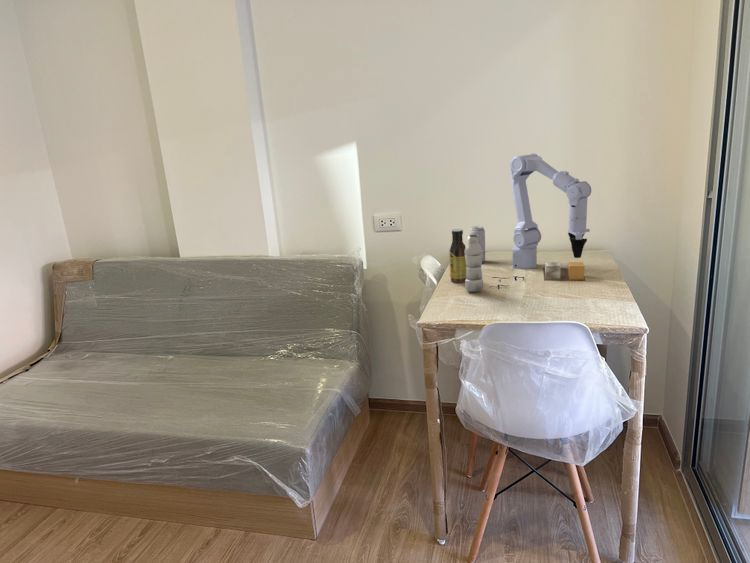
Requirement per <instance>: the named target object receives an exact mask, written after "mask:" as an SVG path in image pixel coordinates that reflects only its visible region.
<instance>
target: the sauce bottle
mask: <svg viewBox="0 0 750 563" xmlns="http://www.w3.org/2000/svg"><path fill="white" fill-rule="evenodd" d="M451 235H452V236H451V237H452V238H451V239H452V240H451V245H450V248H449V252H448V254H449V277H450V281H451V282H452V283H465V280H466V259H465V253H464V251H465V248H466V245H465V243H464V241H463V239H464V238H463V235H464V230H463V229H462V228H454V229H452V230H451Z"/></svg>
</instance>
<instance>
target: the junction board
mask: <svg viewBox="0 0 750 563" xmlns="http://www.w3.org/2000/svg"><path fill="white" fill-rule="evenodd" d="M542 271H543V280H544V281H550V282H551V281H552V282H554V281H555V282H556V281H557V282H565V281H566V282H586V278H585V276H584V280H575V279H569V277H568V267H561V263H560V262H559V261H557V262H556V261H555V262H554V261H552V262H551V261H549V262H547V261H546V262H545V266H544V267H543V268H542Z"/></svg>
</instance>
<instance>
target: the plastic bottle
mask: <svg viewBox="0 0 750 563" xmlns="http://www.w3.org/2000/svg"><path fill="white" fill-rule="evenodd" d="M478 241H479V239H478V235H470V234H469V235H467V242H468V243H467V245H465V247H466V248H465V251H464V253H465V259H466V280H465V281H464V286H465V289H466V291H467V292H470V293H477V292H481V291H482V290H483V288H484V280H483V272H482V265H483V264H482V254H483V250H482V247H481V246H480V244H479V243H478Z"/></svg>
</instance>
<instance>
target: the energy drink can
mask: <svg viewBox="0 0 750 563" xmlns="http://www.w3.org/2000/svg"><path fill="white" fill-rule="evenodd" d="M469 233H470V234H469V236H470V235H478V239H479V241H478V243H479V244H480V246H481V247H482V250H483V254H482V263H484V262H485V261H486V230H485V228H484V226H483V225H473V226H471V229H470V231H469Z"/></svg>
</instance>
